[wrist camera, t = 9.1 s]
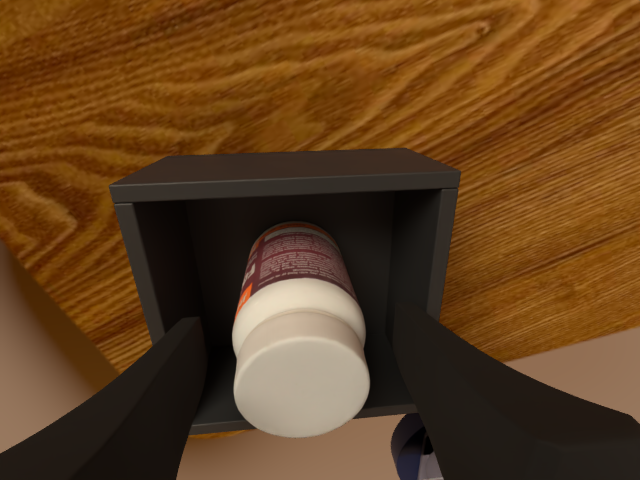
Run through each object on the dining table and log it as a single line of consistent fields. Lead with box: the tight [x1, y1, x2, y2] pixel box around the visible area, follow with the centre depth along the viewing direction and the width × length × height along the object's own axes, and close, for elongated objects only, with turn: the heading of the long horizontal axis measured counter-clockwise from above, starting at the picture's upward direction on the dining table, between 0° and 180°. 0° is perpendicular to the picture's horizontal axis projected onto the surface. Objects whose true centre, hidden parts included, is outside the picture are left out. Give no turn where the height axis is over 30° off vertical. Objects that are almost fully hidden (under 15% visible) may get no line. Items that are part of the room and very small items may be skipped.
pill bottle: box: [232, 221, 370, 438], centre depth 13 cm, size 5×5×8 cm
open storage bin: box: [109, 148, 461, 435], centre depth 15 cm, size 11×11×6 cm
